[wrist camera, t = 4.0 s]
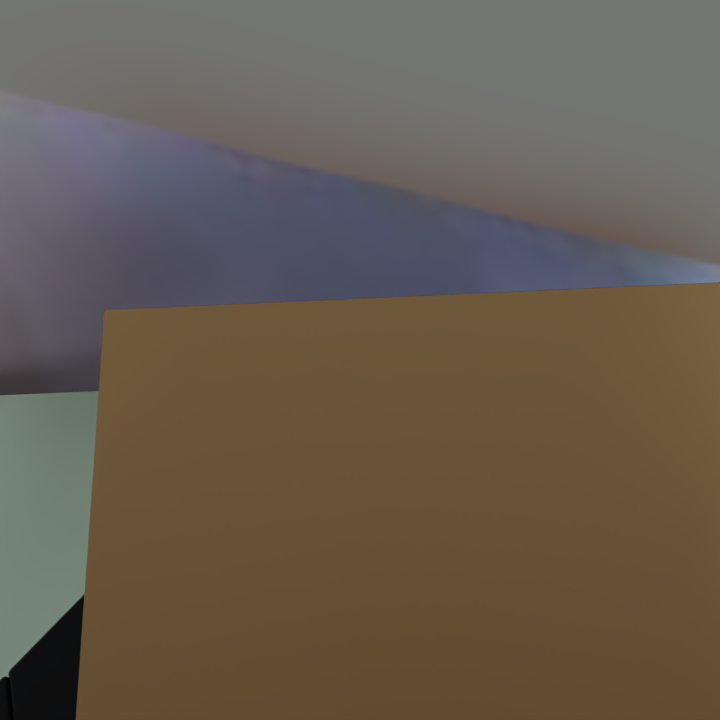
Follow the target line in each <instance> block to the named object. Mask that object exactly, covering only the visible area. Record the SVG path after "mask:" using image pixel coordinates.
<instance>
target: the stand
mask: <svg viewBox="0 0 720 720" xmlns="http://www.w3.org/2000/svg"><path fill="white" fill-rule="evenodd" d="M98 393H99V391H87V392H65V393H42V394H20V395H0V679H1V678H2V677H4V676H7V677H9V676H8V673H9V670H10V669H11V668H12V667H13V666H14V665H15V664H16V663H17V662H18V661H19V660H20V659H21V658H22V657H23V656H24V655H25V654H26V653H27V652H28V651H29V650H30V649H31V648H32V647H33V646H34V645H35V644H36V643H37V642H38V641H39V640H40V639H41V638H42V637H43V636H44V635H45V633H46V632H47V631H48V630H49V629H50V628H51V627H52V626H53V625H54V624H55V623H56V622H57V621H58V620H59V619H60V618H61V617H62V616H63V615H64V614H65V613H66V612H67V611H68V610H69V609H70V608H71V607H72V606H73V605H74V604H75V603H76V602H77V601H78V600H79V599H80V598H81V597H82V596H83V595H84V594H85V579H86V565H87V551H88V536H89V522H90V508H91V493H92V479H93V465H94V450H95V436H96V422H97V407H98Z"/></svg>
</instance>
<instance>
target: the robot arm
mask: <svg viewBox="0 0 720 720" xmlns="http://www.w3.org/2000/svg"><path fill="white" fill-rule="evenodd" d="M83 608H84V595H83V596H82V597H81V598H80V599H79V600H78V601H77V602H76V603H75V604H74V605H73V606H72V607H71V608H70V609H69V610H68V611H67V612H66V613H65V614H64V615H63V616H62V617H61V618H60V619H59V620H58V621H57V622H56V623H55V624H54V625H53V626H52V627H51V628H50V629H49V630H48V631H47V632H46V633H45V635H44V636H43V637H42V638H41V639H40V640H39V641H38V642H37V643H36V644H35V645H34V646H33V647H32V648H31V649H30V650H29V651H28V652H27V653H26V654H25V655H24V656H23V657H22V658H21V659H20V660H19V661H18V662H17V663H16V664H15V665H14V666H13V667H12V668H11V669H10V670H9V673H8V676H9V677H7V676H4V677H2V678H1V679H0V720H76V708H77V694H78V680H79V665H80V651H81V637H82V622H83Z"/></svg>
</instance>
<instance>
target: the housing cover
mask: <svg viewBox="0 0 720 720" xmlns="http://www.w3.org/2000/svg"><path fill="white" fill-rule="evenodd" d="M76 720H720V282H718V283H696V284H674V285H651V286H629V287H607V288H584V289H562V290H540V291H517V292H495V293H473V294H450V295H428V296H406V297H383V298H361V299H339V300H316V301H294V302H272V303H250V304H227V305H205V306H183V307H160V308H138V309H116V310H104V321H103V336H102V350H101V364H100V379H99V393H98V407H97V422H96V436H95V450H94V465H93V479H92V493H91V508H90V522H89V536H88V551H87V565H86V579H85V594H84V608H83V622H82V637H81V651H80V665H79V680H78V694H77V708H76Z"/></svg>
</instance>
